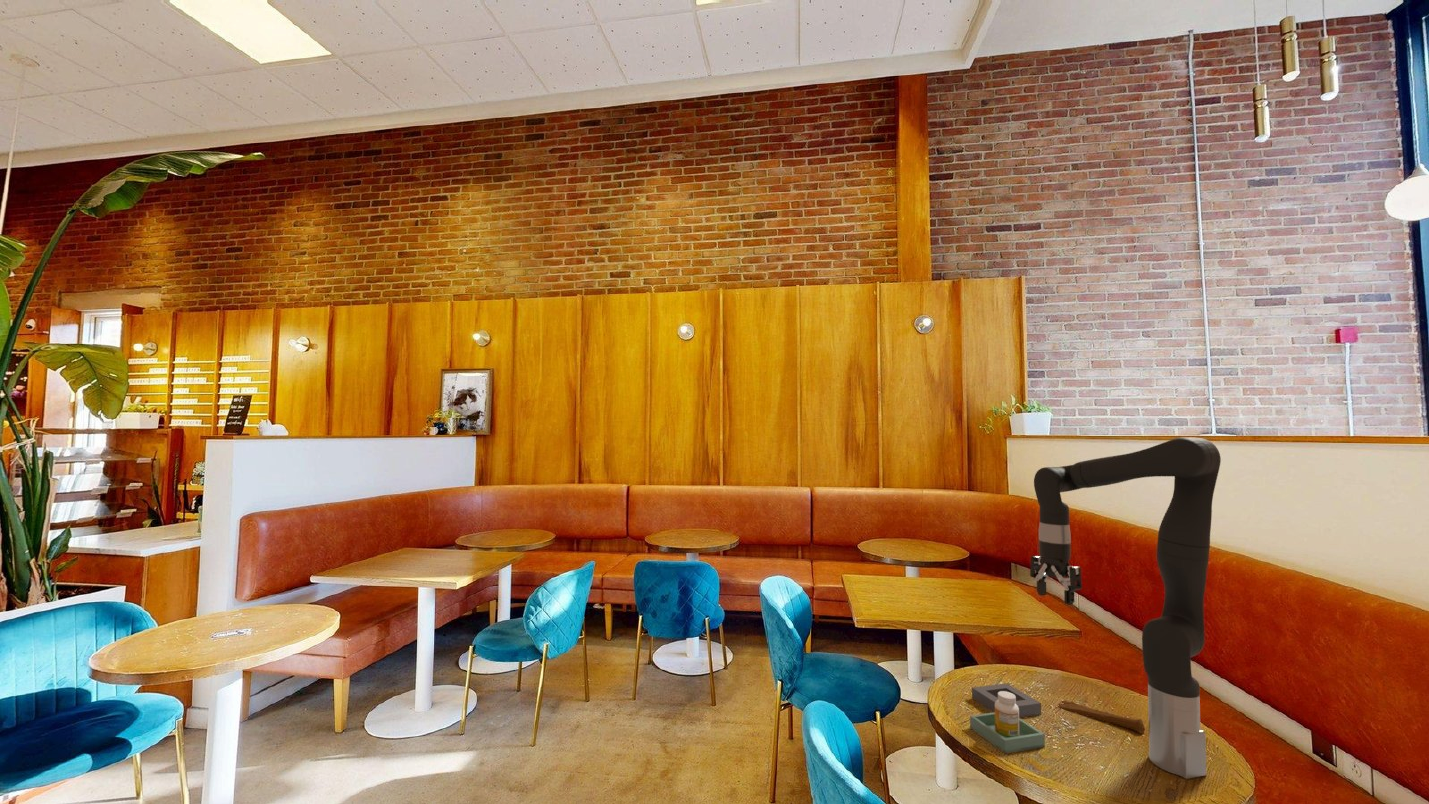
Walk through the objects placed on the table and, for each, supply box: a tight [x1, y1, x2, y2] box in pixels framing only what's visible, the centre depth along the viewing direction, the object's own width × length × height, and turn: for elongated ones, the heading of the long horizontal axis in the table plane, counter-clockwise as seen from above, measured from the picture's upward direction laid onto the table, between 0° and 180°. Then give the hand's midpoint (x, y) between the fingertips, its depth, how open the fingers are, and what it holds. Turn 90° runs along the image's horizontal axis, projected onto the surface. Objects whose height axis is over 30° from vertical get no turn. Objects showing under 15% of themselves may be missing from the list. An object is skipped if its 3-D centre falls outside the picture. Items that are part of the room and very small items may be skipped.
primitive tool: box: [1057, 699, 1146, 735], centre depth 149 cm, size 19×6×4 cm, turn 43°
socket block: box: [971, 682, 1042, 719], centre depth 153 cm, size 12×12×3 cm
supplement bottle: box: [995, 691, 1019, 738], centre depth 138 cm, size 5×5×10 cm
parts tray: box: [969, 712, 1046, 754], centre depth 138 cm, size 12×12×3 cm
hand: (1055, 599), depth 152 cm, fingers open, 8 cm apart
